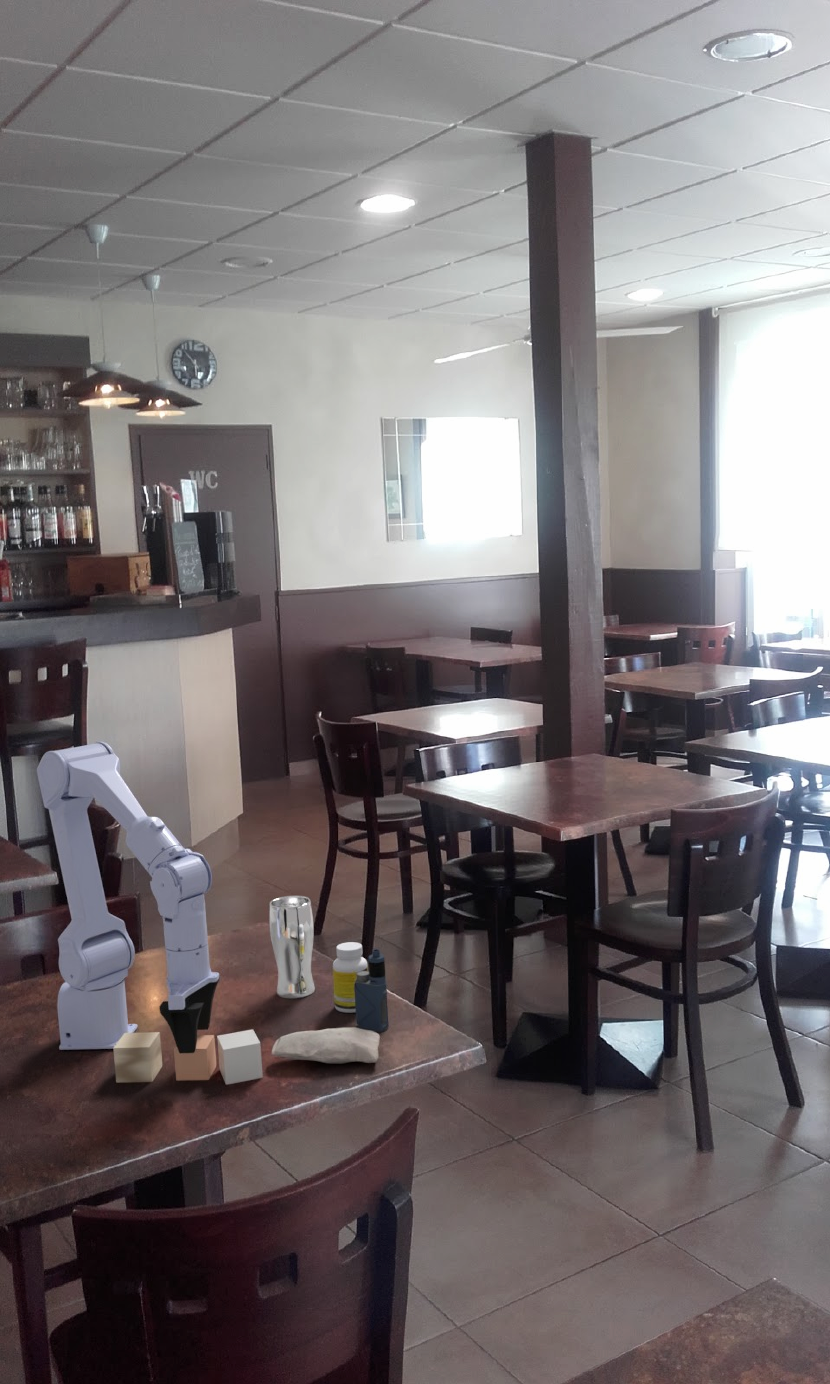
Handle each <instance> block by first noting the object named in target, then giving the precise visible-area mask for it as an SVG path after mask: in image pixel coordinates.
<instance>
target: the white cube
mask: <svg viewBox="0 0 830 1384" xmlns="http://www.w3.org/2000/svg"><path fill="white" fill-rule="evenodd" d="M216 1037H217V1038H216V1039H217V1051H218V1061H219V1063H218V1064H219V1071H220V1073H221V1076H222V1078H223V1081H224V1083H225V1085H231V1084H237V1083H241V1082H242V1083H243V1082H247V1081H251V1080H252V1081H253V1080H259V1079H262V1078H263V1077H264V1076H263V1063H262V1060H263V1059H262V1047H261V1041H260V1039H259V1038H258V1036H257V1034H256V1033H255V1031H254V1028H253V1029H247V1030H241V1031H236V1032H232V1033H231V1032H230V1033H226V1034H220V1035H216Z"/></svg>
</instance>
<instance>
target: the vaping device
mask: <svg viewBox="0 0 830 1384" xmlns="http://www.w3.org/2000/svg"><path fill="white" fill-rule="evenodd" d="M385 959H386V958H385V954H382V953H381V952H380V949H379V948H377V949H376V948H374V949H372V954H370V955H369V956H368V971H360V972H357V973H356V976H357V979H356V980H355V984H354V993H355V1009H356V1012H355V1021H356V1024H357V1028H360V1029H364V1030H371V1031H374V1032H376V1033H377V1032H378V1033H382V1032H384V1031H386V1030H387V1029H388V1028H389V1013H388V1011H389V1010H388V990H387V988H388V987H387V986H388V985H387V980H386V979H387V977H386V965H385V964H386V962H385Z"/></svg>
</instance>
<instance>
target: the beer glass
mask: <svg viewBox="0 0 830 1384" xmlns="http://www.w3.org/2000/svg"><path fill="white" fill-rule="evenodd" d="M314 930H315V929H314V917H313V909H312V902H311V899H310V898H309V897H308V896H304V895H286V896H280V897H278V898H277V897H276V898H274V899H271V901H269V933H270V934H269V935H270V939H271V945H272V949H273V953H274V959H275V961H276V967H277V971H278V972H277V973H278V975H277V976H278V977H277V986H276V987H277V988H276V995H278V996H279V997H280V998H283V999H302V998H305V997H309V996H310V995H312V994H313V993H314V992H315V990H316V987H315V984H314V983H315V982H314V979H313V975H312V957H313V956H312V954H313V947H314V937H315V936H314V934H315V933H314V932H315V931H314Z"/></svg>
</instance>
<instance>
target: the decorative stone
mask: <svg viewBox="0 0 830 1384" xmlns="http://www.w3.org/2000/svg"><path fill="white" fill-rule="evenodd" d="M380 1038H381V1037H380V1034H379V1032H378V1033H377V1032H376V1031H371V1030H366V1029H361V1028H359V1027H356V1026H355V1027H336V1028H333V1027H332V1028H324V1029H320V1030H305V1031H296V1032H291V1033H288V1034H286V1035H282V1036H280V1037H279V1038H278V1039H276V1040H275V1042H274V1044H273V1046H272V1049H271V1055H273V1056H276V1057H280V1058H286V1059H289V1060H295V1061H296V1060H297V1061H298V1060H299V1061H312V1062H313V1061H314V1062H319V1063H325V1064H339V1065H340V1064H348V1063H352V1062H353V1063H354V1062H361V1063H365V1064H366V1063H367V1064H371V1063H377V1061H378V1060H379V1057H380V1056H379V1046H380Z"/></svg>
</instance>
